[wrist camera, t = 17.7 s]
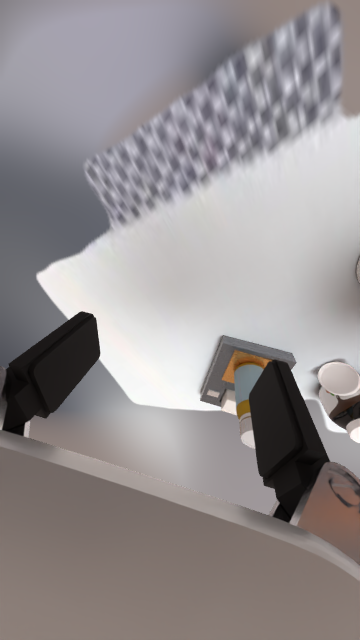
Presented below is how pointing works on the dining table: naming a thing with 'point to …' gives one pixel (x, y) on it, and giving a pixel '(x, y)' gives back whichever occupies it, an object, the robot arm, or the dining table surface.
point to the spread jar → (341, 396)
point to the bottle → (245, 398)
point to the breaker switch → (228, 401)
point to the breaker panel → (236, 365)
